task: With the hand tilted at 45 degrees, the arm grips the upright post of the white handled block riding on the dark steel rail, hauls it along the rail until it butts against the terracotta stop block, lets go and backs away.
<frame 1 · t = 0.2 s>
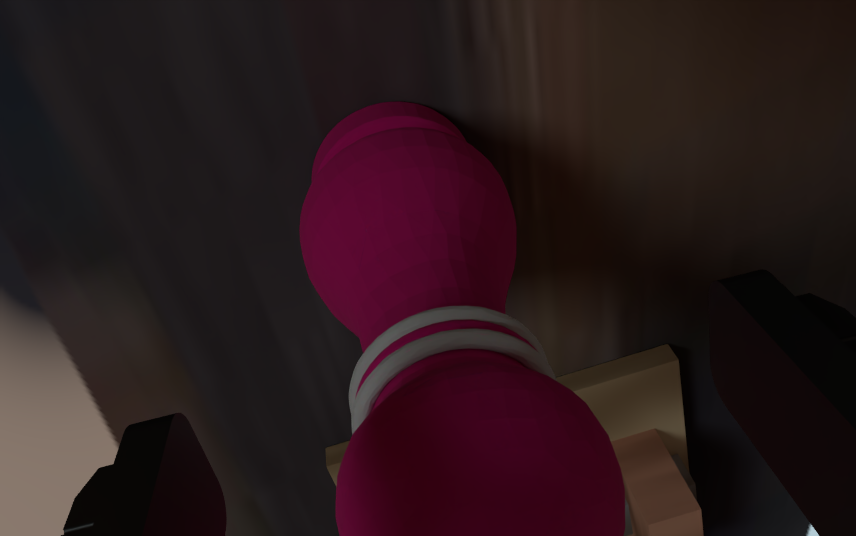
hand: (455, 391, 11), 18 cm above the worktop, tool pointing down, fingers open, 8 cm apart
track: (524, 495, 40), on the worktop
pepper mill: (392, 175, 29), on the worktop
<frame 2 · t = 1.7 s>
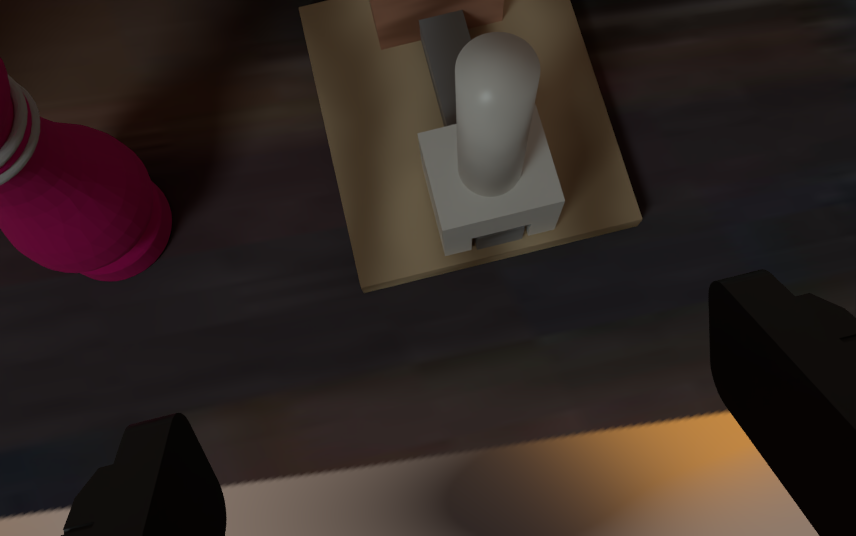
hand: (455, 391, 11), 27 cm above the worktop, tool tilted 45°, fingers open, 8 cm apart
track: (461, 117, 42), on the worktop
pepper mill: (119, 228, 42), on the worktop
white handled block: (491, 146, 33), point 8 cm above the worktop, slide at 0.0 cm
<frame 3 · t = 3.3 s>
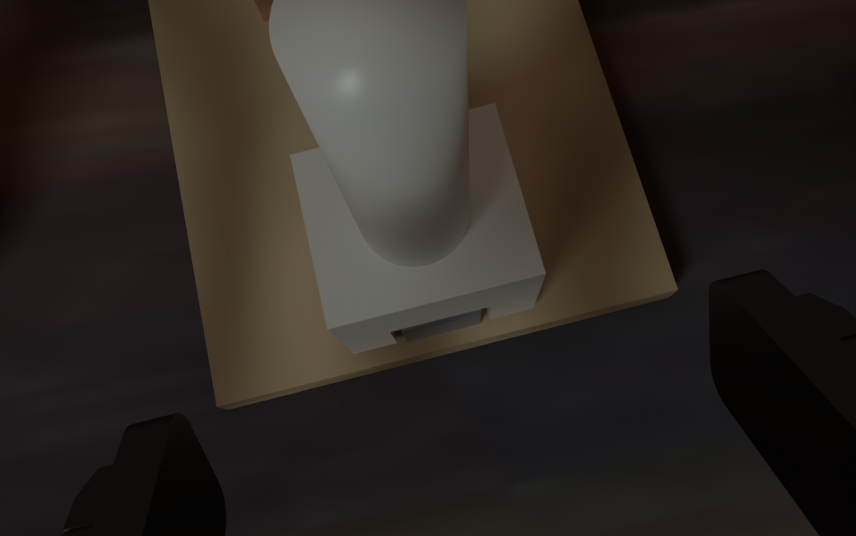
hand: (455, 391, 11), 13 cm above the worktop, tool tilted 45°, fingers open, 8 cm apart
track: (390, 125, 27), on the worktop
white handled block: (406, 180, 18), point 8 cm above the worktop, slide at 0.0 cm
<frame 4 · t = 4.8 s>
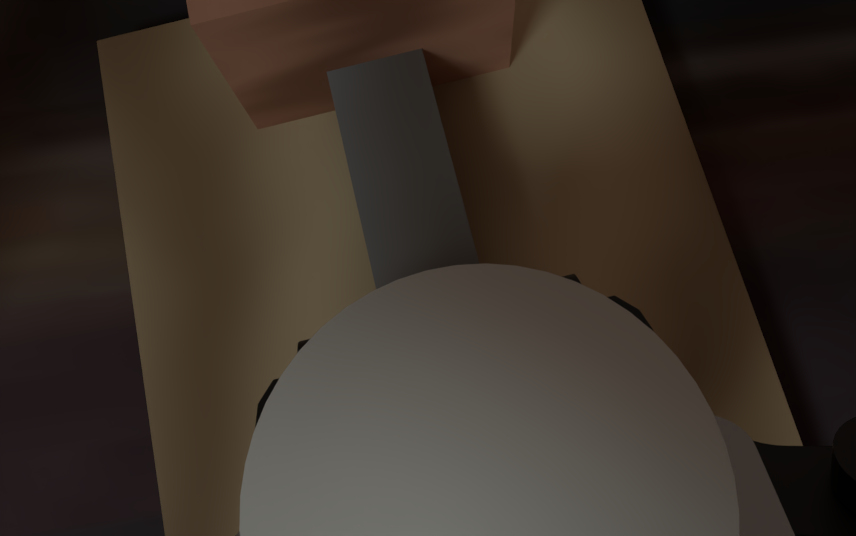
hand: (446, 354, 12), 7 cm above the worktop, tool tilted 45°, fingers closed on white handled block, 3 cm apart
track: (426, 269, 20), on the worktop
white handled block: (478, 481, 11), point 8 cm above the worktop, slide at 0.0 cm, touching gripper
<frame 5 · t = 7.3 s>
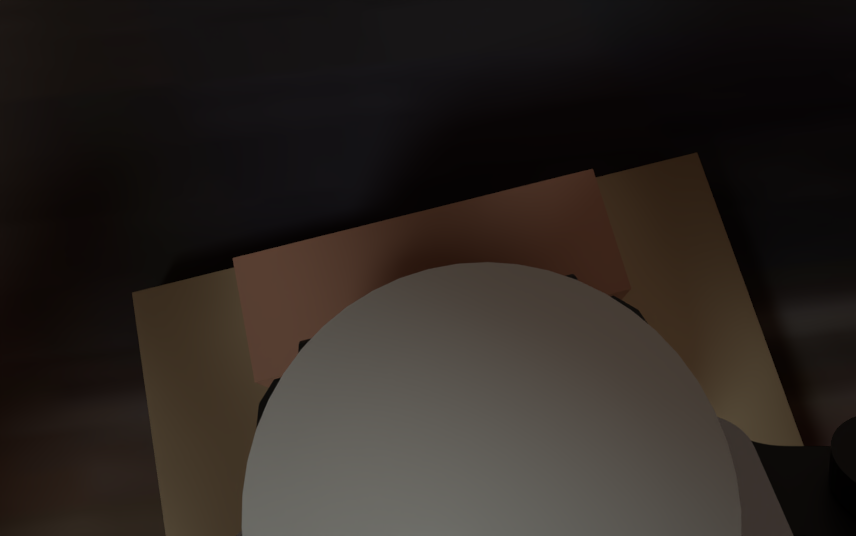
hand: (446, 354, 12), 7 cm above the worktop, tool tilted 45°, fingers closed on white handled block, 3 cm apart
white handled block: (479, 480, 11), point 8 cm above the worktop, slide at 7.5 cm, touching gripper
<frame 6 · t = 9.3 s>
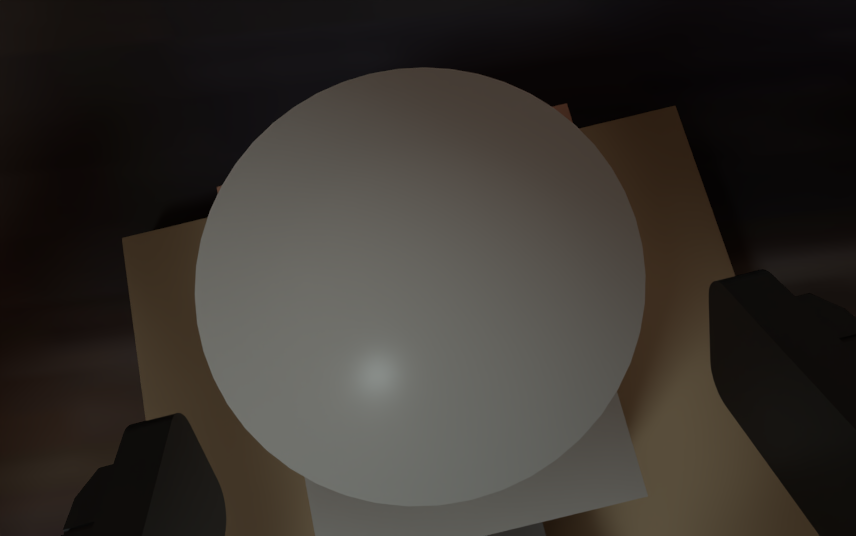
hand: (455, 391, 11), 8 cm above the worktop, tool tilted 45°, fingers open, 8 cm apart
track: (477, 498, 19), on the worktop
white handled block: (447, 380, 12), point 8 cm above the worktop, slide at 7.6 cm, touching track
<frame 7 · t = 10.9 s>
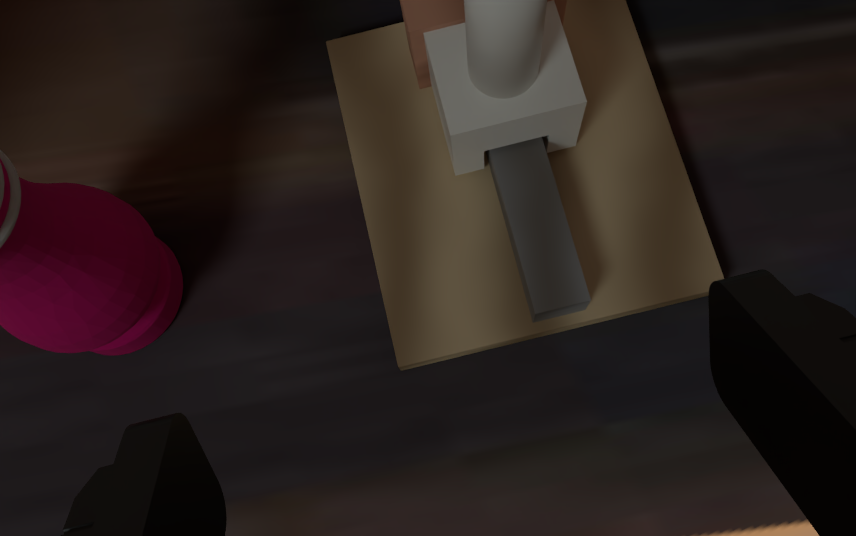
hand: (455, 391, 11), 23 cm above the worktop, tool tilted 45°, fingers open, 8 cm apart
track: (512, 165, 37), on the worktop
pepper mill: (124, 293, 37), on the worktop
white handled block: (504, 36, 30), point 8 cm above the worktop, slide at 7.6 cm, touching track
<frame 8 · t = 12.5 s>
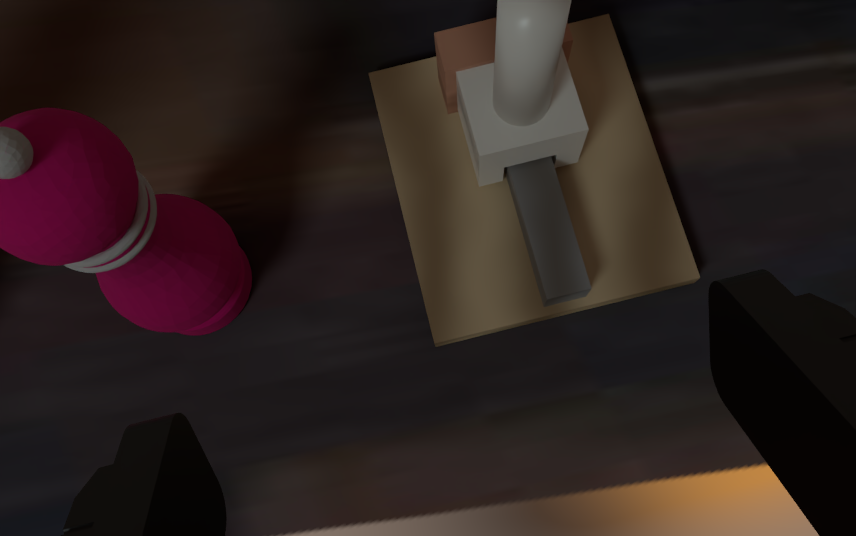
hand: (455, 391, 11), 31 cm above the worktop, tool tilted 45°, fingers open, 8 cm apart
track: (524, 177, 45), on the worktop
pepper mill: (201, 284, 44), on the worktop
white handled block: (524, 78, 37), point 8 cm above the worktop, slide at 7.6 cm, touching track
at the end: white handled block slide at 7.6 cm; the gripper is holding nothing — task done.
